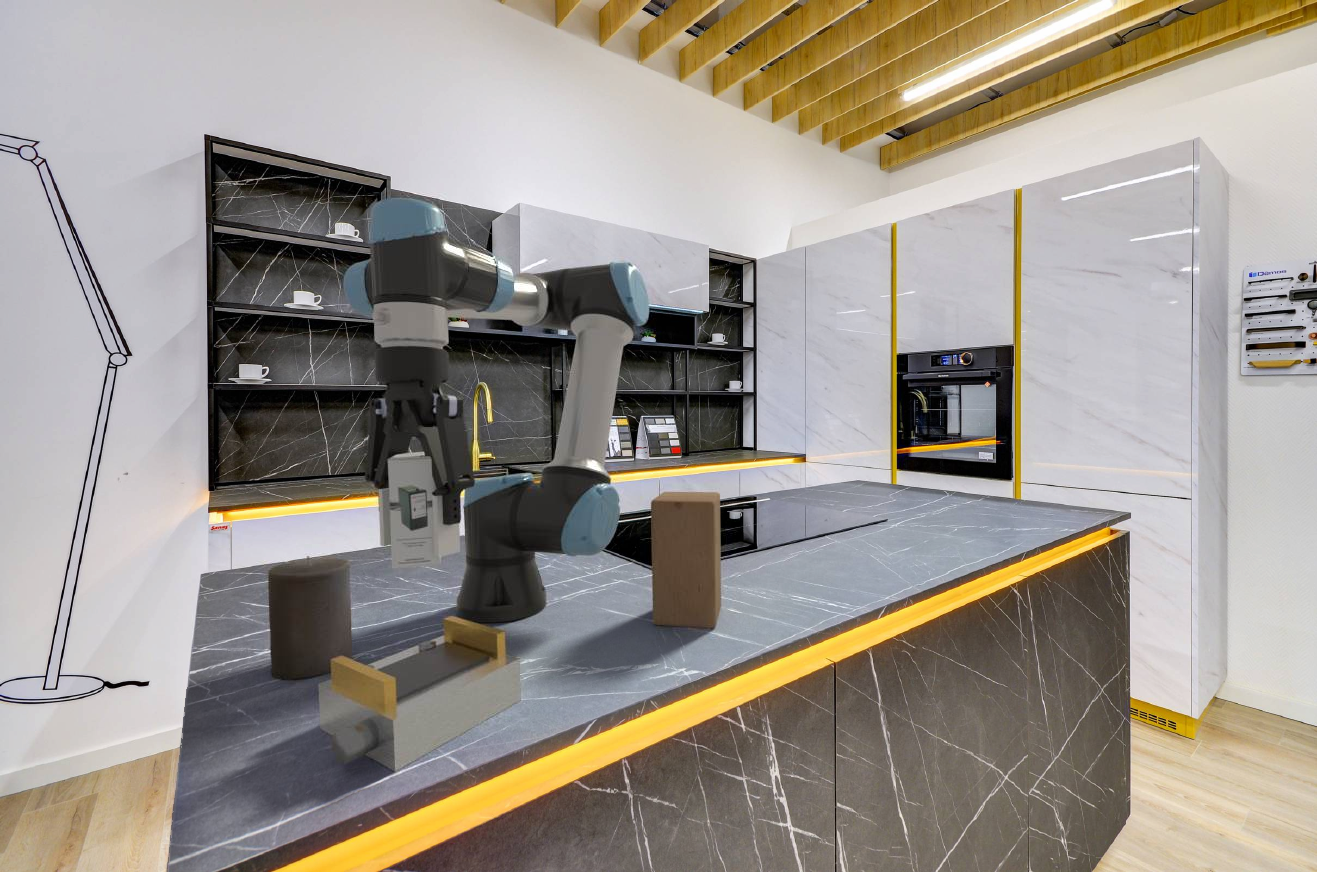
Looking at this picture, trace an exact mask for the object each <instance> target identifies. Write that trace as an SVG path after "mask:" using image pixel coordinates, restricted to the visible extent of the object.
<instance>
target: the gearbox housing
mask: <svg viewBox="0 0 1317 872" xmlns="http://www.w3.org/2000/svg"><path fill="white" fill-rule="evenodd" d="M521 686H522V685H521V659H520V658H519V657H517V656H514V655H510V654H507V653H506V630H502V629H500V628H495V627H492V626H488V625H484V624H481V623H479V622H474V621H469V620H465V619H463V618H461V617H456V616H453V615H450V616H448V617H445V618H443V635H441V636H439V637H436V638H434V639H431V640H425V641H423V642H420V643H419V644H418V645H415V646H413V647H409V648H407V649H404V650H402V651H399V652H397V653H394V654H391V655H388V656H387V657H384V658H381V659H379V660H376V661H374V662H371V663H369V664H363V663H362V662H360V661H359V662H358V661H356V660H354V659H352V658H351V659H349V658H347V657H344V656H339V657H336V658H334V659H331V672H330V679H328V680H325V681H323V682H322V681H321V682H320V683H318V706H319V709H318V710H319V726H320V727H319V728H320V730H321V731H323V732H325V733H327V734H329V735H330V736H332V738H331V747H332V752H333V755H334V758H335V760H336V761H337V762H338V764H340V765H341V766H346V765H347V764H349V763H351V762H353V761H355V760H357V759H359V758H360V757H361V758H362V756H367V757H369V758H370V759H372V760H374V761H376V762H377V763H379V764H381V765H383V766H384V767H386V768H388V769H390V770H391V771H394V772H398V771H399V770H401V769H403V768H404V767H406V766H409V764H411V763H414V762H415V761H416V760H418V759H421V757H424V756H425V755H427V754H428V753H430V752H432V751H434V750H436V749H437V748H439V747H441V746H443V745H444V744H447V743H448V742H450V741H452V740H454V739H455V738H457V737H458V736H460V735H462V734H464V733H465V732H466V733H467V731H469V730H471V729H472V728H474V727H477V725H479V724H482V723H483V722H485V721H486V720H488V719H490V718H491V717H494V716H495V715H498V714H499V713H501V712H502V711H504V710H506V709H508V708H509V707H511V706H513V705H515V704H517V703H518V702H520V701H521V700H522V693H521V691H522V687H521Z"/></svg>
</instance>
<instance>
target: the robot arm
mask: <svg viewBox="0 0 1317 872" xmlns="http://www.w3.org/2000/svg"><path fill="white" fill-rule="evenodd" d="M446 231H447V227H446V225H445V218H444V215H443V212H442V211H441V210H440V209H439V207H437V206H436V205H434V204H433V203H430V202H427V201H424V200H421V199H415V198H408V197H407V198H406V197H391V198H385V199H381V200H379V201H377V202H376V203H374V205H373V206H372V207H371V210H370V219H369V239H368V244H369V249H370V250H369V251H370V258H369V259H366V260H363V261H360V262H356V263H353V264H352V265H351V266H349V267H348V268H347V270H346V272H345V273H344V276H343V280H342V281H343V282H342V283H343V291H344V293H343V294H344V295H345V299H346V302H348V304H349V306H350V307H351V308H352V309H353V310H354V312H356V313H357V314H359V315H361V316H363V317H367V318H372V320H373V324H374V326H373V327H374V329H373V331H374V332H373V333H374V342H376V343H377V344H378V345H380V347H377V348H376V350H375V351H374V369H375V370H374V371H375V373H374V374H375V377H374V378H375V379H376V382H378V383H380V384H385V385H386V392H385V393H386V394H385V397H384V398H371V399H369V403H368V406H369V416H370V421H369V431H368V432H369V433H368V439H367V440H368V442H367V451H366V458H365V459H366V461H365V471H364V480H365V481H366V482H367V483H371V482H372V483H373V486H374V488H375V489H377V496H378V502H377V503H378V514H379V517H378V518H379V539H380V540H379V541H380V542H379V543H380V544H379V545H380V546H381V547H382V546H383V547H387V546H391V529H390V501H389V476H388V459H389V458H391V457H393V456H395V455H397V454H404V453H409V447H410V445H411V441H412V439H413V438H416V440H419V442H420V445H421V447H422V450H423V451H422V452H424V454H425V456H429V457H430V458H431V460H432V477H433V479H434V482H435V485H436V488H437V489H436V490H435V491H433V492H432V505H433V534H434V556H435V557H441V558H442V557H446V556H449V555H454V554H457V553H460V552H461V537H460V535H461V534H460V530H461V529H460V524H461V520H462V510H461V509H463V520H464V524H463V525H464V539H465V540H464V541H465V542H464V543H465V565H466V566H465V570H464V573H463V578H462V580H461V586H460V589H459V590H460V591H459V593H458V596H457V597H456V614H457V616H458V618H461V619H464V620H468V621H471V622H474V623H501V622H509V621H511V622H512V621H515V620H516V621H517V620H520V619H523V618H527V617H530V616H533V615H536V614H537V613H539V612H541V611H542V610H544V609H545V608H546V606H547V589H546V587H545V586H544V585H543V579H542V577H541V574H540V570H539V568H538V565H537V562H536V553H545V554H546V553H547V554H557V555H567V556H570V557H578V556H587V557H589V556H594V555H595V556H596V555H598V554H599V553H601V552H602V551H604V550H605V549H606V547H607V546H608V545H609V544H610V543H611V541H612V539H613V538H614V535H615V533H616V531H617V527H618V524H619V519H620V513H621V506H620V505H619V504H620V496H619V492H618V491H617V489H616V488H615V487H614V486H613V485H611V483H612V477H611V476H610V474H609V473H608V472H607V470H606V469H605V463H606V457H607V452H608V451H607V450H608V445H609V439H610V432H611V427H612V426H611V425H612V419H613V412H614V406H615V402H616V400H615V399H616V396H617V395H616V393H617V390H618V389H617V387H618V381H619V376H620V369H621V362H622V356H623V350H624V347H625V346H626V345H628V344H629V343H631V342H632V341H633V339H634V334H635V332H634V331H635V328H636V327H641V326H644V325H645V324H647V322H648V320H649V314H650V301H649V294H648V291H647V290H648V289H647V286H646V284H645V281H644V278H643V276H642V273H641V271H639V269H638V267H636V266H635V264H633V263H631V262H625V261H623V262H614V261H613V262H610V263H609V264H608V263H606V264H600V265H599V264H597V265H587V266H581V267H570V268H569V267H567V268H562V269H561V268H560V269H556V270H550V271H544V272H539V273H538V272H537V273H530V272H521V273H517V274H515V275H514V272H513V269H512V268H511V266H510V265H509V264H508V263H507V261H505V260H504V259H503V258H500V257H498V256H496V255H495V254H493V253H492V252H490V251H487V250H486V249H483V250H482V249H480V248H477V247H474V246H472V245H470V244H467V243H465V242H461V241H459V240H456V239H454V238H453V237H451V236H449V235H447V234H446ZM448 318H456V319H457V318H459V319H460V318H461V319H477V320H478V319H480V320H481V319H482V320H505V321H507V320H508V321H513V323H515V324H517V325H518V326H522V327H536V328H543V329H549V330H550V329H551V330H559V331H571V332H572V333H573V334H574V336H576V340H575V347H574V351H573V356H572V361H571V368H570V372H569V377H568V384H567V389H566V394H565V399H564V405H563V410H562V415H561V421H560V426H559V430H558V437H557V441H556V447H555V452H554V456H553V457H554V458H553V460H552V461H550V462H549V463H547V464H545V465H544V466H543V468H542V472H541V476H540V481H538V482H535V478H534V475H533V473H531V472H525V473H524V472H523V473H513V474H508V475H501V476H500V475H499V476H494V477H488V478H487V477H486V478H482V479H475V476H474V475H475V474H474V470H473V465H472V461H471V455H470V449H469V445H468V440H467V439H468V438H467V434H466V430H465V428H466V427H465V423H464V419H463V414H464V413H463V411H464V410H463V409H464V400H463V397H462V396H461V395H444V393H443V390H442V384H445V383H448V382H449V381H450V380H449V379H450V366H449V365H450V364H449V361H450V360H449V357H450V356H449V352H447V350H446V349H444V348H443V347H445V346H447V345H448V344H449V343H450V342H449V322H448V321H449V320H448ZM463 491H464V497H463V498H464V499H463V505H462V504H461V503H462V502H461V501H462V500H461V495H462V492H463ZM461 505H462V507H463V508H461Z"/></svg>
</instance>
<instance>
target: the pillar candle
mask: <svg viewBox="0 0 1317 872" xmlns="http://www.w3.org/2000/svg"><path fill="white" fill-rule="evenodd" d="M267 579H268V580H267V581H268V583H267V584H268V587H267V591H268V616H269V619H268V620H269V634H270V635H269V638H270V639H269V641H270V642H269V643H270V644H269V645H270V647H269V649H270V665H271V666H270V668H271V670H270V675H271V676H273V677H275V678H276V679H280V680H284V681H285V680H286V681H288V680H289V681H290V680H302V679H309V678H314V677H318V676H324V675H325V674H328V673H329V674H330V673H331V659H334V658H336V657H339V656H344V657H347V658H349V659H352V656H353V642H352V641H353V640H352V605H351V604H352V603H351V602H352V599H351V598H352V597H351V561H350V560H349V559H346V558H339V557H321V556H320V557H314V558H310V556H309V555H308V556H306V558H304V559H300V560H299V559H297V560H292V561H288V562H287V561H286V562H283V563H281V564H277V565H275V566H272V567H271V568H269V570H268V578H267Z"/></svg>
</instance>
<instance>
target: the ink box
mask: <svg viewBox="0 0 1317 872" xmlns="http://www.w3.org/2000/svg"><path fill="white" fill-rule="evenodd" d="M388 476H389V501H390V529H391V545H390V548H391V549H390V552H391V555H390V557H391V569H392V570H399V569H408V568H419V567H431V566H439V565H441V561H442V559H441V558H442V557H435V556H434V534H433V505H432V492H433V491H435V490H436V489H437V488H436V485H435V482H434V479H433V477H432V460H431V458H430V457H429V456H425V454H424V451H417V452H416V451H415V452H407V453H404V454H397V455H395V456H393V457H391V458H389V459H388Z"/></svg>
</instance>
